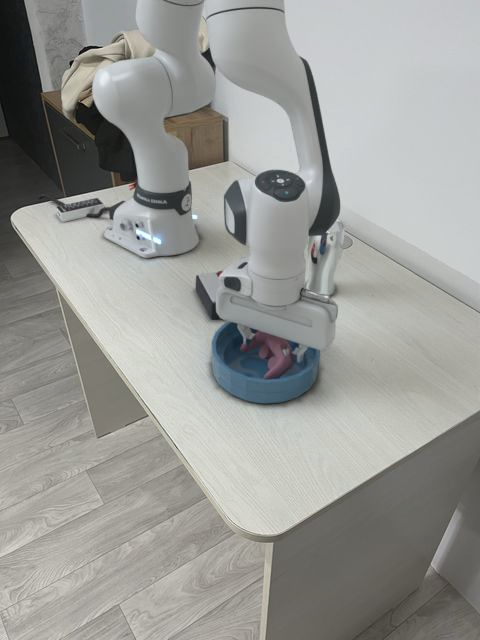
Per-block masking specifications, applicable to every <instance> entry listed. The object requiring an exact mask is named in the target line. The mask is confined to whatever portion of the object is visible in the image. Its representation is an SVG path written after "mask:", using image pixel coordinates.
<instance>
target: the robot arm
mask: <svg viewBox="0 0 480 640" xmlns="http://www.w3.org/2000/svg"><path fill="white" fill-rule="evenodd" d="M204 8H205V9H204ZM204 10H205V20H206V21H205V24H206V31H207V32H206V33H207V41H208V46H209V50H210V55H211V59H212V61H213V63H214V65H215V67H216V69H218V71H219V72H220V73H221V75H222V76H223V77H225V79H226V80H228V81H229V82H231V83H232V84H233V85H235V86H237V87H239V88H240V89H243V90H245V91H247V92H251V93H253V94H255V95H259V96H261V97H264V98H267V99H268V100H270V101H272V102H274V103H275V104H277V105H278V106H280V107H281V109H282V110H284V112H285V113H286V114H287V117H288V119H289V123H290V128H291V131H292V136H293V142H294V147H295V151H296V156H297V161H298V166H299V168H298V172H295V173H294V172H292V171H289V170H285V169H269V170H268V169H267V170H265V171H262V172H260V173H258V174H257V175H256V176H251V177H249V176H248V177H243V178H240V179H236V180H234V181H233V182H232V183H231V184H230V186H229V187H228V188H227V189H226V191H225V192H224V195H223V219H224V227H225V230H226V232H227V233H228V234H229V235H230V236H231V237H232V238H234V239H235V240H236V241H237V242H238V243H239V244H241V245H242V246H246V247H248V249H249V255H248V257H244V258H242V257H241V258H237V259H236V260H235V261H233V262H231V264H229V265H228V266H226V268H225V269H223V270H222V271H223V272H222V273H221V274H220V276H219V278H218V279H219V284H220V287H219V288H218V289H217V294H216V312H217V314H218V315H219V317H220V318H219V319H221V320H224V321H226V322H228V321H230V322H233V323H237V328H238V330H239V331H240V333H241V335H242V336H243V340H244V345H247V346H251V347H252V346H253V344H255V341H256V339H255V337H256V334H254V333H252V332H251V330H250V328H252V329H255V330H258V331H261V332H265V333H268V334H271V335H274V336H277V337H280V338H283V339H286V340H290V341H293V342H296V343H299V348H297V347H296V349H295V351H293V353H292V360H293V361H295V362H298V363H300V362H301V361H302V360H303V357H304V352H305V351H306V350H307V349H308V347H311V348H314V349H317V350H321V351H325V350H327V349H328V348H330V346H331V345H332V343H333V342H334V340H335V337H336V320H337V319H338V313H339V305H338V304H337V302H336V301H334V299H332V298H331V295H330V296H328V295H325V294H319V293H316V292H314V291H311V290H307V289H306V288H305V285H306V282H305V281H306V270H307V260H306V256H305V251H306V247H307V246H308V242H309V236H321V235H323V234H325V233H326V232H327V231H328V230H329V229H330V228H331V227H332V225H333V224H334V223H335V221H336V220H337V219H338V218H339V216H340V214H341V197H340V192H339V188H338V184H337V182H336V179H335V178H336V177H335V175H334V171H333V169H332V164H331V160H330V154H329V150H328V144H327V138H326V133H325V126H324V123H323V116H322V111H321V106H320V100H319V96H318V91H317V86H316V82H315V79H314V75H313V71H312V69H311V66H310V64H309V62H308V61H307V60H306V58H303V56H300V55H299V54H298V52H297V51H296V49H295V47H294V45H293V43H292V40H291V37H290V35H289V31H288V27H287V21H286V10H285V0H136V9H135V24H136V27H137V29H138V31H139V34H140V35H141V37H142V38H143V39H144V40H145V41H146V43H148V44H149V45H151V46H152V47H153V48H155V52H154V54H153V55H150V56H147V57H138V58H132V59H131V58H130V59H122V60H118V61H115V62H113V63H110V64H108V65H105V66H103V67H101V68H99V69H98V70H96V72H95V75H94V76H93V80H92V85H91V91H92V92H91V94H92V99H93V101H94V105H95V107H96V109H97V110H98V112H99V113H100V114H101V116H102V118H104V119H105V120H106V121H108V122H109V123H111V124H113V125H114V126H115V127H117V128H118V129H119V130H120V131H121V132H122V133H123V134H124V135H125V137H126V138H127V140H128V142H129V144H130V146H131V149H132V152H133V156H134V162H135V169H136V174H137V179H136V180H135V181H134V182H133V183H131V184H130V185H128V187H129V189H128V190H129V191H130V192H131V191H132V190H134V192H133V195H132V196H131V197H129V198H128V199H127V200H122V201H119V202H117V203H116V204H113V205H111V206H104V208H102V209H101V210H100V211H99V213H98V214H87V215H86V216H87V217H86V218H101V217H102V216H103V214H104V213H103V212H105V213H106V212H108V217H109V220H111V221H112V223H110V225H108V226H107V227H106V229H105V230H104V233H103V235H104V238H105V239H107V240H108V241H111V242H112V243H115V244H116V245H118V246H120V247H122V248H124V249H126V250H127V251H129V252H132V253H134V254H136V255H137V256H139V257H141V258H142V259H143V258H144V259H150V258H156V257H163V256H165V257H166V256H176V255H182V254H185V253H187V252H190V251H191V250H193V249H195V247H197V246H198V244H199V243H200V238H199V235H198V232H197V230H196V229H197V228H196V226H195V221H194V220H195V219H196V220H197V219H198V216H197V215H196V214H193V209H192V204H193V190H192V181H191V180H190V171H189V169H190V167H189V153H188V149H187V146H186V145H185V143H184V142H183V141H182V140H181V139H180V138H179V137H176V136H175V135H173V134H171V133H168V132H166V130H165V125H164V122H165V121H164V120H165V119H166V118H170V117H176V116H181V115H185V114H191V113H193V112H195V111H198V110H200V109H202V108H204V107H205V106H208V105H209V104H210V103H211V102H212V101H213V99H214V97H215V93H216V88H217V87H216V86H217V83H216V76H215V72H214V70H213V67H212V65H211V64H210V62H209V61H208V60H207V59H206V58H205V57H204V56H203V55H202V53H201V51H200V47H199V46H200V45H199V34H200V29H201V22H202V17H203V12H204ZM42 199H48V200H49V201H52V202H53V203H55V204H57V205H58V206H61V205H66V204H67V203H64V202H63V201H60V200H59V199H56V198H55V197H53V196H51V195H49V194H47V193H41V194H39V196H38V197H37V200H42ZM300 348H301V349H300ZM321 351H320V352H321Z"/></svg>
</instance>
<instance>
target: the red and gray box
mask: <svg viewBox="0 0 480 640" xmlns="http://www.w3.org/2000/svg"><path fill="white" fill-rule="evenodd" d="M223 271H224V270H220V271H218V272H208V273H200V274H197V275H195V291H196V294H197V296H198V298H199V299H200V301H201V304H202V305H203V307H204V309H205V311H206V313H207V315H208V317H209V319H211V320H217V319H221V318H220V317H219V315H218V314H217V312H216V294H217V289H218V288H219V287H220V284H219V279H218V278H219V276H220V274H221V273H222V272H223Z"/></svg>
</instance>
